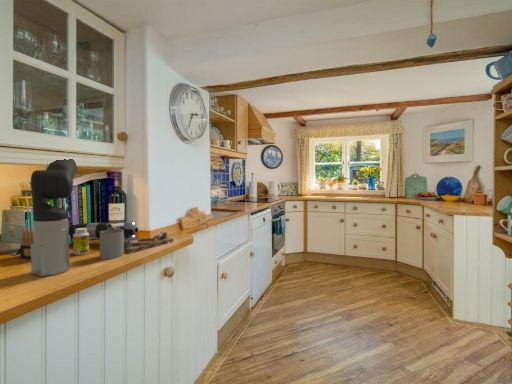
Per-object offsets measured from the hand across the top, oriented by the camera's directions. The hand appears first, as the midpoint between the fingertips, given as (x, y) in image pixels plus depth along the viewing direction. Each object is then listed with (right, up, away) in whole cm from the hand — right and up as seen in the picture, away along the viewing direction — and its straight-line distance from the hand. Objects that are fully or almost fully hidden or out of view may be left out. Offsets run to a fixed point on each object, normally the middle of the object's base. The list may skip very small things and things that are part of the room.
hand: (135, 230), depth 128 cm
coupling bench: (+7, -6, -4) cm, 10 cm away
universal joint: (-3, -6, 0) cm, 7 cm away
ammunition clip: (-27, -7, -25) cm, 38 cm away
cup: (0, -7, -21) cm, 22 cm away
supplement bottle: (-14, -7, -18) cm, 24 cm away
